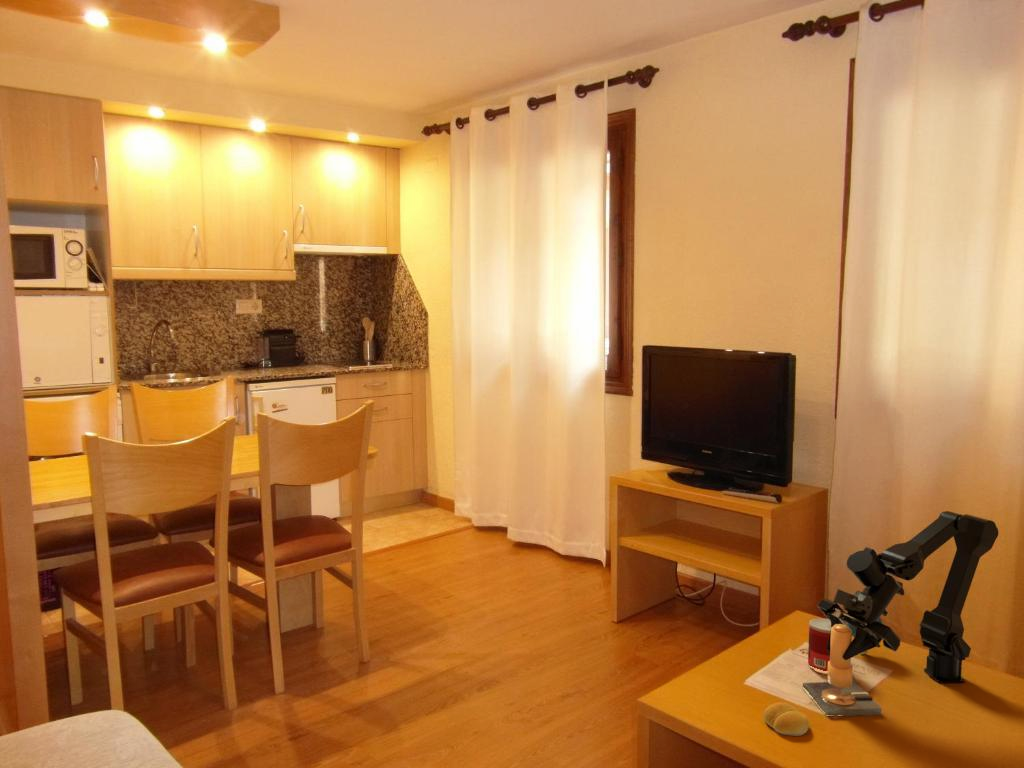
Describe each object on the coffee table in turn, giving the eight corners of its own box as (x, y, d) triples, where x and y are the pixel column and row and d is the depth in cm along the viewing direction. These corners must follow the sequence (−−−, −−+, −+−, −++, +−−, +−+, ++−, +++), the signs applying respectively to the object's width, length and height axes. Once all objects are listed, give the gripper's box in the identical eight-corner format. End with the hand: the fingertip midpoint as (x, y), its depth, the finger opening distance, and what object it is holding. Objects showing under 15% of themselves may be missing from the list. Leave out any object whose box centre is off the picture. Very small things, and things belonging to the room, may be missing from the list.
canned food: (848, 675, 183) (850, 631, 182) (814, 675, 183) (816, 630, 182) (835, 661, 190) (837, 618, 189) (803, 660, 191) (804, 617, 189)
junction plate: (853, 687, 177) (854, 679, 177) (881, 714, 165) (881, 706, 165) (802, 689, 176) (802, 681, 176) (826, 716, 164) (826, 708, 164)
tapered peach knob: (850, 678, 171) (852, 623, 169) (853, 689, 166) (855, 632, 165) (826, 675, 172) (827, 621, 171) (828, 686, 167) (830, 630, 166)
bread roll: (786, 741, 155) (786, 722, 155) (757, 719, 164) (757, 701, 163) (818, 733, 158) (819, 714, 158) (788, 712, 166) (789, 694, 166)
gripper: (824, 564, 177) (785, 618, 174) (892, 591, 160) (851, 651, 157) (849, 592, 181) (811, 645, 177) (918, 621, 164) (878, 681, 160)
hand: (835, 654), depth 168 cm, fingers closed on tapered peach knob, 4 cm apart
